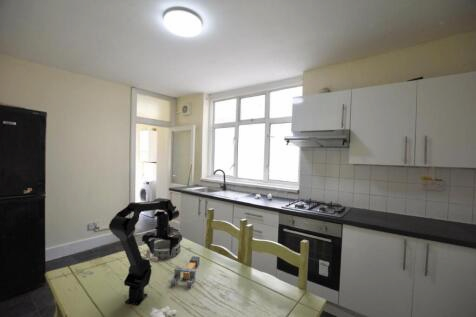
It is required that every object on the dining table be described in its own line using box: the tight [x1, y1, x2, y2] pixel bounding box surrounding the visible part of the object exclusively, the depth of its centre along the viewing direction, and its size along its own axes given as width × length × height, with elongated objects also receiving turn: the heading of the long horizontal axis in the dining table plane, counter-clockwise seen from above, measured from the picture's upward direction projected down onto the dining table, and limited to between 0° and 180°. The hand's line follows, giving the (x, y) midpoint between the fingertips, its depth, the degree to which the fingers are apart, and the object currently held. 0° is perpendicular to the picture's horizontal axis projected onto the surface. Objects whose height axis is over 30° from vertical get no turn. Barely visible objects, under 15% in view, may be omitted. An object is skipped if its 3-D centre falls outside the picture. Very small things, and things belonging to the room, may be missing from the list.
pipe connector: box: [141, 247, 158, 262], centre depth 118 cm, size 10×10×10 cm
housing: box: [170, 266, 197, 288], centre depth 105 cm, size 6×10×6 cm, turn 83°
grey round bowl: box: [150, 240, 182, 260], centre depth 136 cm, size 18×18×5 cm
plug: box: [182, 255, 201, 280], centre depth 116 cm, size 16×4×4 cm, turn 173°
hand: (161, 254), depth 107 cm, fingers open, 9 cm apart
